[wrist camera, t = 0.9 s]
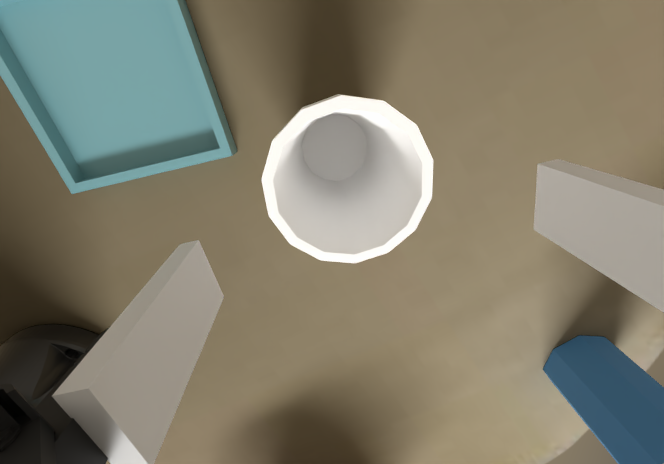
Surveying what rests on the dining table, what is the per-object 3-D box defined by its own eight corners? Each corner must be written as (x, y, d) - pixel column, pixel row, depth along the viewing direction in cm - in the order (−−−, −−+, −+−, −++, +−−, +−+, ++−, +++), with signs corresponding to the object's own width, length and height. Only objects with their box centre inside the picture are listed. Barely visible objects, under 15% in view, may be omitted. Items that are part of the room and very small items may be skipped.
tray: (86, 187, 29) (71, 194, 28) (-21, 1, 23) (-49, -7, 21) (237, 151, 29) (232, 155, 27) (167, -50, 23) (155, -62, 21)
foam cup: (275, 97, 27) (246, 105, 15) (382, 85, 27) (435, 84, 15) (292, 201, 31) (279, 271, 19) (385, 191, 31) (429, 254, 19)
